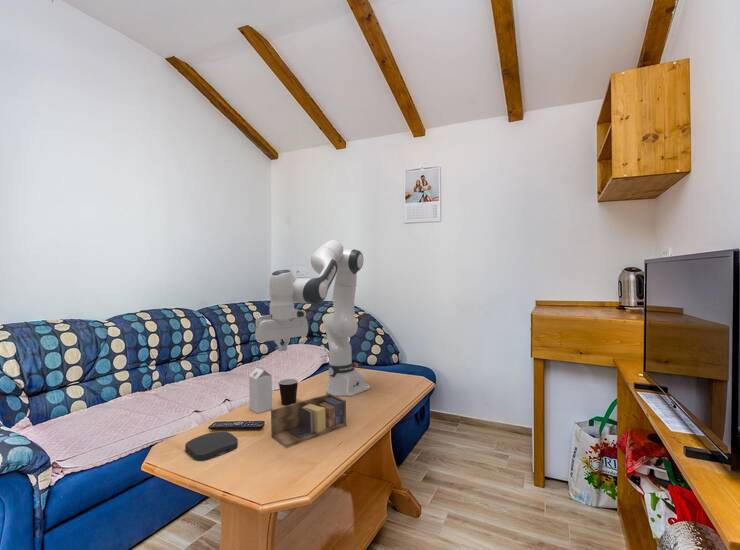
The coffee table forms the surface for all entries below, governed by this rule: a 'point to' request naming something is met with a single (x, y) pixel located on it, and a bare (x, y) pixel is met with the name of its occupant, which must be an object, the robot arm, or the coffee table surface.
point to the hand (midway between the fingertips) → (282, 350)
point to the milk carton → (260, 390)
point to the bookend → (303, 424)
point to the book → (317, 417)
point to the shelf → (290, 418)
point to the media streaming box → (211, 445)
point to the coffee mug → (288, 391)
